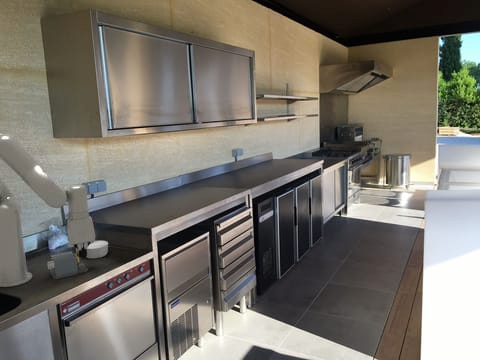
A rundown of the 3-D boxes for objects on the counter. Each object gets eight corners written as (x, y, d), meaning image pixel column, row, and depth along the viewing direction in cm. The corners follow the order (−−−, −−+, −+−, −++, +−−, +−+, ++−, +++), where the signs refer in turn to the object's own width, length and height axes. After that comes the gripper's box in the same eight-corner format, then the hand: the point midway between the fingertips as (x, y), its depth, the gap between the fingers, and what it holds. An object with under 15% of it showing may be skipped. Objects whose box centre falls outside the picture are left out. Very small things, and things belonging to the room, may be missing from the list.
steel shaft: (50, 273, 163) (48, 261, 162) (47, 269, 167) (46, 257, 166) (80, 266, 169) (79, 255, 168) (77, 263, 173) (76, 251, 172)
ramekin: (92, 261, 181) (91, 249, 180) (78, 256, 187) (77, 245, 187) (114, 254, 190) (113, 242, 189) (99, 249, 196) (98, 239, 195)
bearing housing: (54, 279, 162) (52, 262, 161) (50, 272, 169) (48, 255, 168) (88, 271, 169) (86, 254, 168) (83, 265, 176) (81, 249, 175)
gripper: (61, 220, 161) (66, 264, 164) (100, 213, 169) (104, 256, 173) (57, 216, 168) (62, 259, 171) (95, 210, 176) (99, 251, 179)
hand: (83, 257), depth 172 cm, fingers closed
